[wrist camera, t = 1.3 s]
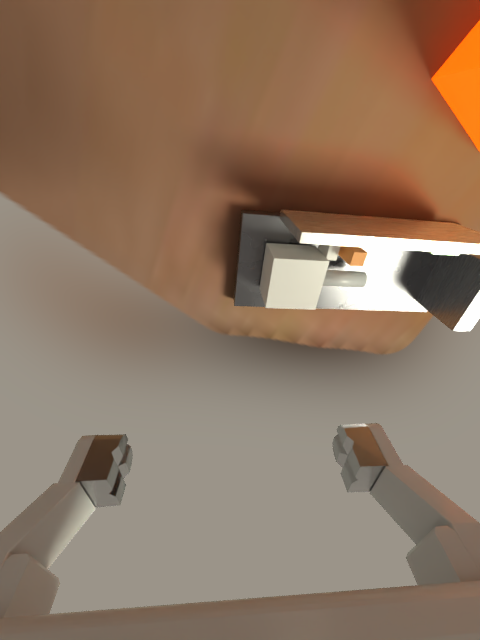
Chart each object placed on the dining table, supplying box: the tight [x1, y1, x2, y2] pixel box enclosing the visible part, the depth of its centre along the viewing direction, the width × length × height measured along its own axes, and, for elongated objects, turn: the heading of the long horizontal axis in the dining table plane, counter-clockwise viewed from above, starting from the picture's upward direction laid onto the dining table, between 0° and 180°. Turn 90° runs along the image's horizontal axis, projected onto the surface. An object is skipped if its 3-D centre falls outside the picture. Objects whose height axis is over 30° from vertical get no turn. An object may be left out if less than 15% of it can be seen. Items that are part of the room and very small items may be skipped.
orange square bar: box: [338, 246, 368, 266], centre depth 25 cm, size 1×1×5 cm
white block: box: [260, 243, 367, 309], centre depth 26 cm, size 10×7×4 cm, turn 85°
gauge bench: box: [234, 210, 480, 331], centre depth 27 cm, size 24×11×8 cm, turn 85°
